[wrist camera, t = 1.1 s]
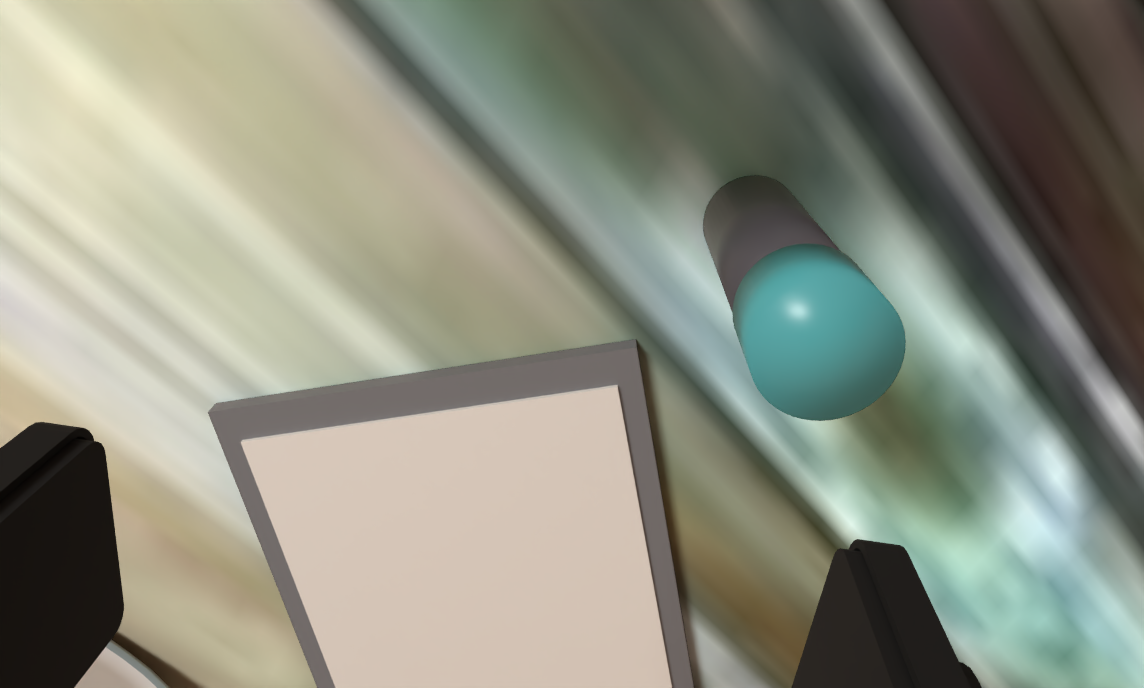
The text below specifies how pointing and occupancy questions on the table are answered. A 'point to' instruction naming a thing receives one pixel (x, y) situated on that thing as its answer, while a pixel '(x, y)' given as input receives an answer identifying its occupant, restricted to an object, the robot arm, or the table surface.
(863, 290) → the marker
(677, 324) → the table surface
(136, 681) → the grey rounded block
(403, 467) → the notepad
